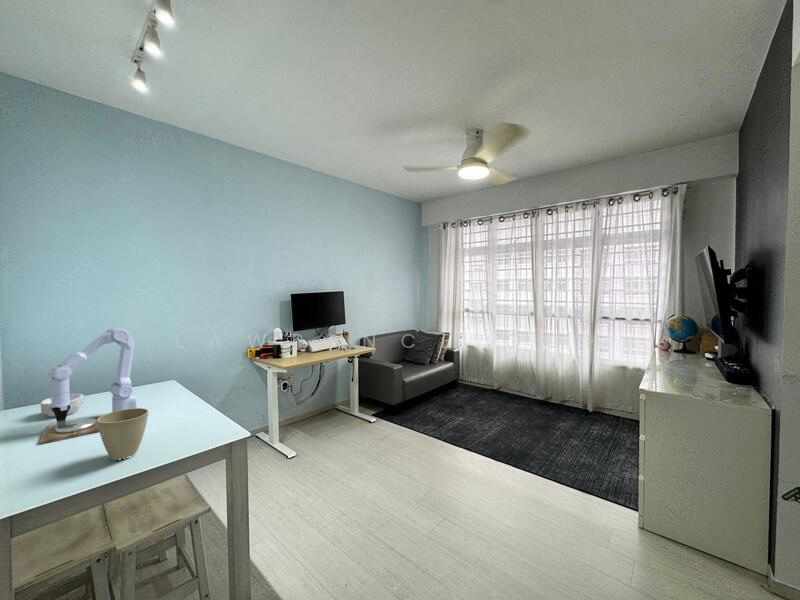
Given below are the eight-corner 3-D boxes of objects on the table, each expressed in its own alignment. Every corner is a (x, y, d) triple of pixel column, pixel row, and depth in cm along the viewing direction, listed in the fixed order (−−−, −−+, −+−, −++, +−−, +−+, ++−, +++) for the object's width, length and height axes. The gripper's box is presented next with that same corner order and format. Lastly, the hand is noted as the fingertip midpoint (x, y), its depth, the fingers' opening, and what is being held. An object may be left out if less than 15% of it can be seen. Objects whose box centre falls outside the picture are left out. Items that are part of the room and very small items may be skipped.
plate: (106, 417, 160) (105, 414, 160) (106, 430, 146) (106, 427, 146) (46, 429, 147) (46, 426, 147) (40, 444, 132) (40, 441, 132)
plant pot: (138, 463, 119) (137, 420, 118) (88, 469, 115) (87, 424, 114) (155, 444, 133) (155, 406, 133) (112, 449, 129) (111, 409, 129)
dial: (96, 418, 155) (95, 410, 155) (95, 427, 146) (95, 418, 146) (56, 426, 147) (56, 417, 146) (53, 436, 137) (53, 426, 137)
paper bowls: (45, 422, 155) (45, 405, 154) (37, 415, 163) (36, 399, 162) (88, 412, 167) (88, 396, 167) (78, 406, 175) (78, 391, 175)
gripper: (44, 391, 146) (45, 421, 147) (50, 398, 138) (51, 430, 138) (66, 388, 152) (67, 416, 152) (73, 394, 143) (74, 424, 144)
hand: (61, 422), depth 146 cm, fingers closed
